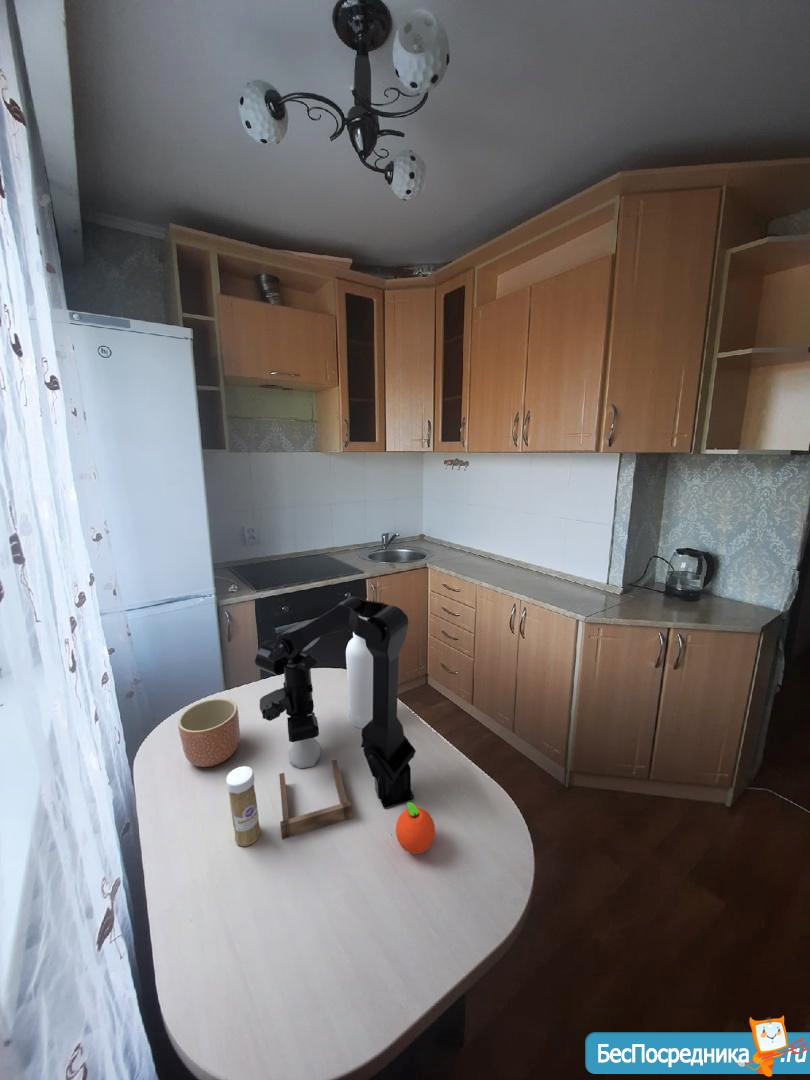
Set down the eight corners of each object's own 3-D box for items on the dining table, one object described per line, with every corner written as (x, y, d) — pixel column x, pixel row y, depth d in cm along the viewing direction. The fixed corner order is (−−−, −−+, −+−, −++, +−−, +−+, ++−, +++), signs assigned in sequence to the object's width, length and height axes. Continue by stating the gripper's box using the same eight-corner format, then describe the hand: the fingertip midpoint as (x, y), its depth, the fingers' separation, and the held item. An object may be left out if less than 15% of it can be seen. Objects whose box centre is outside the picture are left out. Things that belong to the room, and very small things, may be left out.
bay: (339, 770, 95) (338, 758, 94) (352, 818, 83) (351, 805, 82) (278, 786, 91) (276, 774, 90) (282, 839, 79) (280, 826, 78)
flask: (324, 741, 101) (322, 713, 96) (316, 771, 95) (313, 742, 90) (294, 738, 102) (290, 710, 97) (284, 767, 95) (279, 738, 90)
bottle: (348, 730, 108) (340, 618, 100) (351, 710, 115) (344, 605, 108) (380, 728, 108) (375, 617, 101) (381, 709, 115) (376, 604, 108)
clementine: (389, 831, 80) (387, 799, 78) (423, 818, 82) (423, 787, 81) (404, 870, 73) (403, 836, 71) (441, 855, 75) (441, 822, 73)
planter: (243, 765, 97) (237, 722, 94) (182, 782, 93) (174, 738, 90) (242, 731, 108) (236, 692, 106) (187, 745, 104) (180, 705, 101)
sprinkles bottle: (246, 851, 77) (237, 788, 73) (229, 840, 79) (220, 778, 76) (266, 831, 80) (258, 770, 77) (249, 821, 83) (241, 761, 79)
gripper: (260, 664, 102) (265, 719, 107) (260, 713, 85) (267, 777, 90) (307, 656, 106) (311, 710, 110) (317, 702, 89) (321, 764, 93)
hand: (302, 738), depth 101 cm, fingers closed, pressing on flask
